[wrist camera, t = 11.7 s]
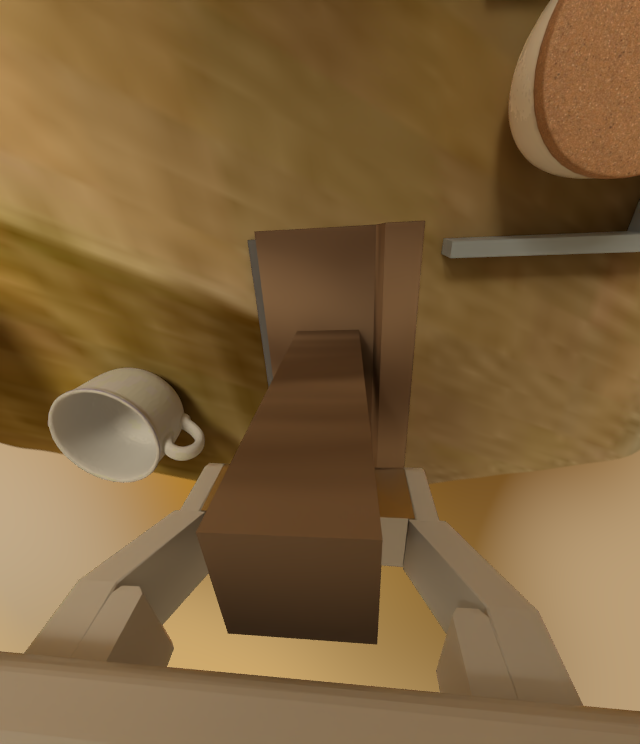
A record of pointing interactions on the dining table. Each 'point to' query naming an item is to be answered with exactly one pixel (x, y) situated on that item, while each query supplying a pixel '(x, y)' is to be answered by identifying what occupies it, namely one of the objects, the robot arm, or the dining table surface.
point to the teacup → (122, 425)
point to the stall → (547, 243)
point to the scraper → (319, 435)
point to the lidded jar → (580, 90)
